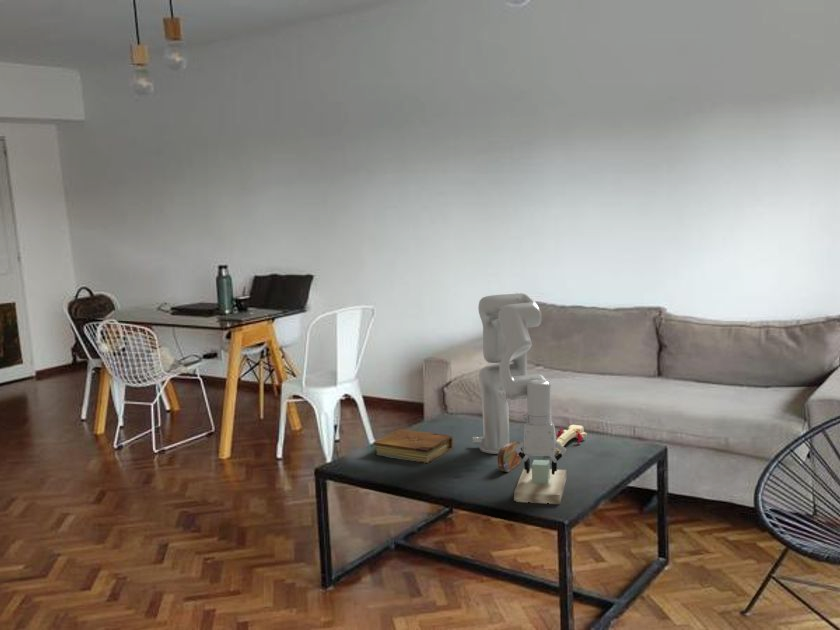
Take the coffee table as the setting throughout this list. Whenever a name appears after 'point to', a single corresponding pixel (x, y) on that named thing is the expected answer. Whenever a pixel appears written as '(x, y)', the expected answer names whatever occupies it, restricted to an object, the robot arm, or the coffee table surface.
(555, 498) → the base block
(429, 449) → the diary
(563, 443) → the cream elongated piece
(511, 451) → the tin
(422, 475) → the coffee table surface
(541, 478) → the block
